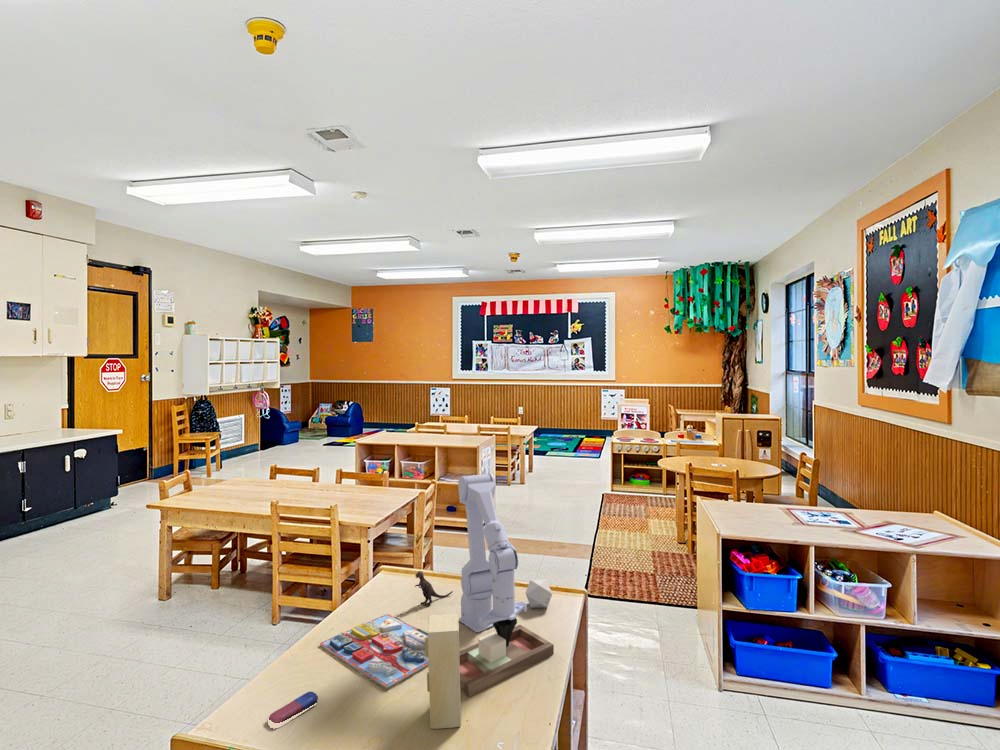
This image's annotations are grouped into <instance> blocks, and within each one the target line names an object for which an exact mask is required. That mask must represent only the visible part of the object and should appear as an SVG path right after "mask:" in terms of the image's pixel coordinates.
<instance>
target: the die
mask: <svg viewBox="0 0 1000 750" xmlns="http://www.w3.org/2000/svg"><path fill="white" fill-rule="evenodd" d="M526 587H527V588H526V590H525V593H524V594H525V596H526V598H527V601H528V603H529V606H530V608H531V609H534V608H535V609H538V608H539V609H541V608H545V609H546V608H548V606H549V604H550V601H551V600H552V596H553V592H552V590H551V588H550V585H549V583H548V580H547V579H545V578H544V579H530V580H529V582H528V585H527V586H526Z"/></svg>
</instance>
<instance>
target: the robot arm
mask: <svg viewBox="0 0 1000 750" xmlns="http://www.w3.org/2000/svg"><path fill="white" fill-rule="evenodd" d="M457 486H458V487H457V488H458V499H459V503H460V504H463V505H464V507H465V513H466V514H465V515H466V526H467V537H468V538H467V540H468V550H469V560H468V561H467V562H466V564H464V566H463V567H462V568H461V578H460V586H461V591H462V595H461V597H460V618H459V617H458V622H461V623H462V624H463V625H465V626H466V627H468V628H469V629H471V630H472V631H474V632H475V633H481V632H482V631H485V630H487V629H489V628H492V627H494V630H495V631H496V632H495V633H496V634H497V635H499V636H501V637H502V638H504V639H505V640H506V647H508V646H509V642H510V638H511V634H512V631H513V629H514V627H516V626H517V624H518V619H517V615H518V614H519V613H521V612H525V613H526V612H528V603H526V602H524V601H519V602H516V601H515V594H516V593H515V592H516V591H515V570H517V569H518V566H519V555H518V552H517V550H516V548H515V547H514V546H513V543H512V542H510V541H509V538H508V535H507V532H506V528H505V526H504V524H503V523H502V522H500V521H498V517H497V512H496V511H497V510H496V508H495V502H494V499H493V498H494V496H495V491H496V480H495V477H494V475H493V474H492V473H489V472H488V473H483V474H482V473H481V474H475V475H461V476H460V477H459V480H458V483H457ZM484 525H485V527H484ZM485 541H486V542H485ZM486 545H487V549H488V552H489V554H488V559H487V555H486V554H487V552H486V551H487V550H486Z"/></svg>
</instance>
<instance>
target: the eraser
mask: <svg viewBox="0 0 1000 750" xmlns="http://www.w3.org/2000/svg"><path fill="white" fill-rule="evenodd" d="M318 699H319V697H318V694H317V693H315V692H314V691H308V692H306V693H304V694H302V695H299V696H298V697H297V698H295V699H294V700H292V701H290V702H289V703H287V704H285V705H284V706H282V707H281V708H278V709H277V710H275V711H273V712H272V713H271V714H270V715H269V716H268V718H269V720H271V721H272V722H274V723H280V722H283V721H285V720H287V719H289V718H291V717H292V716H294V715H296V714H298V713H300V712H302V711H303V710H305V709H307V708H309V707H310V706H312V705H314V704H315V703H317V704H318Z"/></svg>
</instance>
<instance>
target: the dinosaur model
mask: <svg viewBox="0 0 1000 750" xmlns="http://www.w3.org/2000/svg"><path fill="white" fill-rule="evenodd" d="M414 576H415V578H416V579H418V578H419V583H418V584H415V585H414V587H415V588H416V587H418V589H421V591H422V595H423V596H424V598H425V599H424V601H423V602H420V605H421V606H424V607H425V608H428V607H430V606H431V605H432V602H433V600H432V597H434V598H438V599H441V598H446V597H449V596H450V595H451V594H452V593H453V590H452V591H450V592H449V593H447V594H445V595H440V594H438V593H437V592H436V591H435V589H434V586H433V585H432V584H431V583H430V581H428V580H427V579H426V578H425V576H424V572H423V571H421V570H419V571H418V572H417V573H415V575H414Z"/></svg>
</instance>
